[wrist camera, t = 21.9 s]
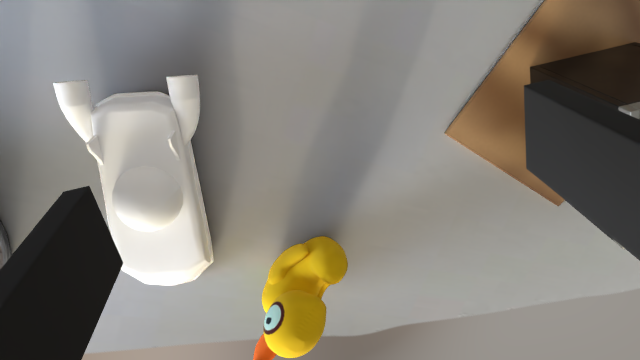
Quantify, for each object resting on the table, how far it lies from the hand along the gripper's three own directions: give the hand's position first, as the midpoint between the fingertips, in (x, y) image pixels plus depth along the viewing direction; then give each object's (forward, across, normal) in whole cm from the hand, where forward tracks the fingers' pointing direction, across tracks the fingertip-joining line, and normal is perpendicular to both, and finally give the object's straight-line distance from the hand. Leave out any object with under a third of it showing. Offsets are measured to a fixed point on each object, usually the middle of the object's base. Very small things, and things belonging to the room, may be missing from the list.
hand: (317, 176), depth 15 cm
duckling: (+27, -3, -21) cm, 34 cm away
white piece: (+27, -13, -10) cm, 32 cm away
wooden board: (+27, +24, -9) cm, 37 cm away
